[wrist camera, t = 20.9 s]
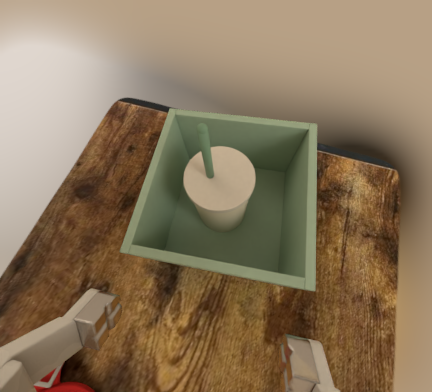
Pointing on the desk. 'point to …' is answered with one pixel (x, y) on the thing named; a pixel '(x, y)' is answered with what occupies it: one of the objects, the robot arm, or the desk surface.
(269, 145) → the bin
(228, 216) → the paper cup
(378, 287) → the desk surface
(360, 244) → the desk surface
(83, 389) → the red flat rounded piece
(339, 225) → the desk surface
